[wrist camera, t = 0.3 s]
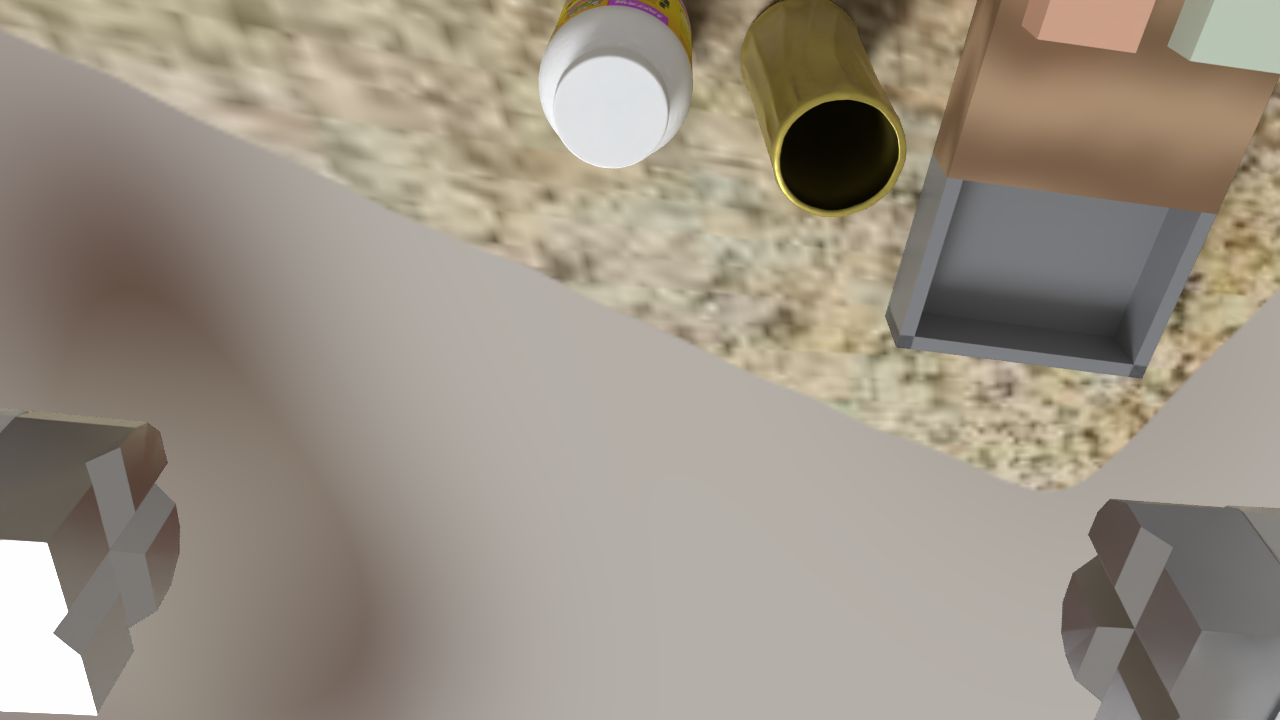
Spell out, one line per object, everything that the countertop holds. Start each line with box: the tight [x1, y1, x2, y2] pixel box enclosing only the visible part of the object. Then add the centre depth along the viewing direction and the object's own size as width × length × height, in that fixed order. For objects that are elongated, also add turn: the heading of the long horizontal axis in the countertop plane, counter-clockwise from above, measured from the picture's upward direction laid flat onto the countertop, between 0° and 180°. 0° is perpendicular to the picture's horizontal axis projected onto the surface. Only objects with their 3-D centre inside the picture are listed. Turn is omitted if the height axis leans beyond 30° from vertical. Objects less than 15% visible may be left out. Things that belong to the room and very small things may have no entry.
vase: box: [740, 0, 906, 217], centre depth 47 cm, size 6×6×14 cm
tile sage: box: [1168, 0, 1280, 74], centre depth 47 cm, size 4×4×2 cm
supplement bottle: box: [539, 0, 693, 168], centre depth 47 cm, size 7×7×13 cm
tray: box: [885, 154, 1217, 378], centre depth 57 cm, size 10×14×4 cm
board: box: [933, 0, 1280, 214], centre depth 50 cm, size 16×14×4 cm
